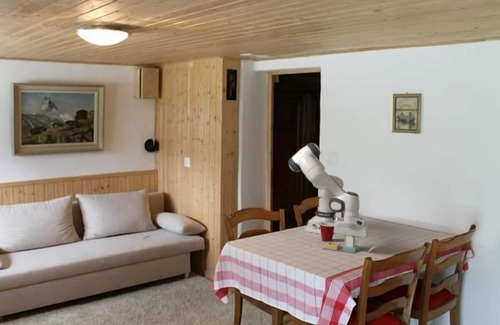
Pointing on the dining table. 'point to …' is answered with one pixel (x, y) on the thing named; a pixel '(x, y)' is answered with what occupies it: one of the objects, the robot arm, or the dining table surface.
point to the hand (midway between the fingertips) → (350, 242)
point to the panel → (340, 248)
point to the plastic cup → (327, 231)
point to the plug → (350, 241)
